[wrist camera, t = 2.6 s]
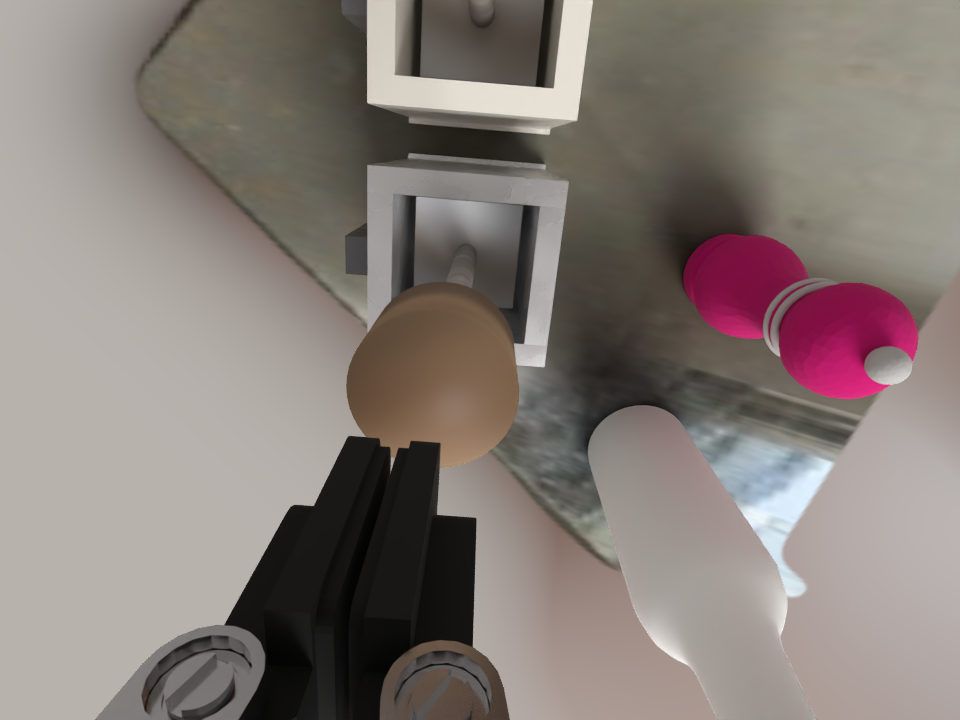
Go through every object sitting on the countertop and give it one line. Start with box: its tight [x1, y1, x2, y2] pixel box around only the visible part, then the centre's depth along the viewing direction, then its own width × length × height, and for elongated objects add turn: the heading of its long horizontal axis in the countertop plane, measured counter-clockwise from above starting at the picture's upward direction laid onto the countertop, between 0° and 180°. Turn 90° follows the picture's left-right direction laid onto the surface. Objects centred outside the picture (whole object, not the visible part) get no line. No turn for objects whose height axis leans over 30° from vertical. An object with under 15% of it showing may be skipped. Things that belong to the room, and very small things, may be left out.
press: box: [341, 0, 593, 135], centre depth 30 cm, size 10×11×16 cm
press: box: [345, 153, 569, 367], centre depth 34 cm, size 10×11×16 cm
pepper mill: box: [683, 234, 918, 399], centre depth 33 cm, size 7×7×20 cm
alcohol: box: [588, 405, 817, 720], centre depth 34 cm, size 9×9×30 cm
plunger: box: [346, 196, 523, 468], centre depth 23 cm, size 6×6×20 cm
